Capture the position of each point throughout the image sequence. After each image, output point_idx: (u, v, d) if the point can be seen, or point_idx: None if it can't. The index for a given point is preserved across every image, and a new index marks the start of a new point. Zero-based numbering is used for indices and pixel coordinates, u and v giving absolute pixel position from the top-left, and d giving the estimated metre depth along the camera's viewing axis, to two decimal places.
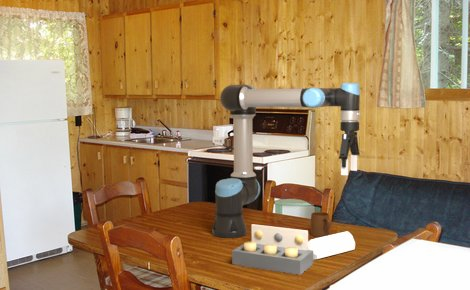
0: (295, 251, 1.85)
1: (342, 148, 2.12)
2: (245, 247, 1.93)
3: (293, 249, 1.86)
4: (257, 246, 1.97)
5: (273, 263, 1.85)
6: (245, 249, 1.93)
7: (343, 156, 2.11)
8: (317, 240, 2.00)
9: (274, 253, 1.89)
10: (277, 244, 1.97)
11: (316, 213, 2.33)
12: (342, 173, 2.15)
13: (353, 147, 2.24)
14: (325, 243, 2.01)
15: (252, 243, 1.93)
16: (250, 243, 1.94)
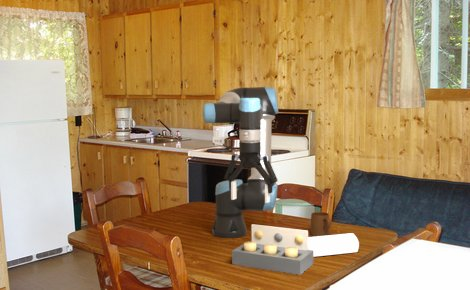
0: (295, 251, 1.85)
1: None
2: (245, 247, 1.93)
3: (293, 249, 1.86)
4: (257, 246, 1.97)
5: (273, 263, 1.85)
6: (245, 249, 1.93)
7: None
8: (312, 239, 2.02)
9: (274, 253, 1.89)
10: (277, 244, 1.97)
11: (316, 213, 2.33)
12: None
13: None
14: (321, 243, 2.02)
15: (252, 243, 1.93)
16: (250, 243, 1.94)
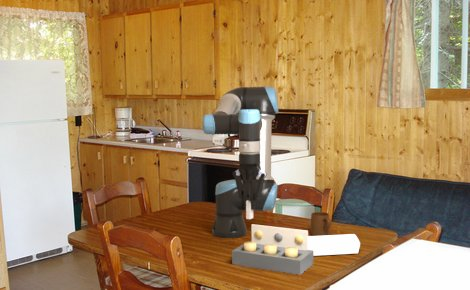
0: (295, 251, 1.85)
1: None
2: (245, 247, 1.93)
3: (293, 249, 1.86)
4: (257, 246, 1.97)
5: (273, 263, 1.85)
6: (245, 249, 1.93)
7: None
8: (311, 238, 2.03)
9: (274, 253, 1.89)
10: (277, 244, 1.97)
11: (316, 213, 2.33)
12: None
13: None
14: (320, 242, 2.02)
15: (252, 243, 1.93)
16: (250, 243, 1.94)
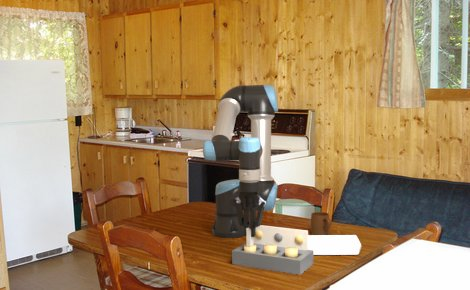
0: (295, 251, 1.85)
1: None
2: (245, 250, 1.93)
3: (293, 249, 1.86)
4: (257, 246, 1.97)
5: (273, 263, 1.85)
6: None
7: None
8: (310, 237, 2.04)
9: (274, 253, 1.89)
10: (277, 244, 1.97)
11: (316, 213, 2.33)
12: None
13: None
14: (319, 242, 2.03)
15: (252, 246, 1.93)
16: (250, 246, 1.94)
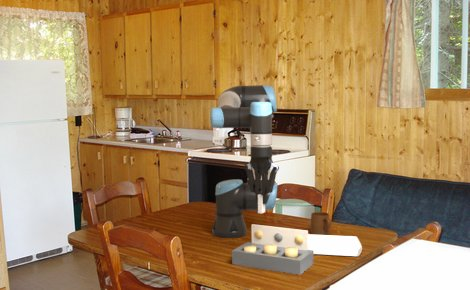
0: (295, 251, 1.85)
1: None
2: None
3: (293, 249, 1.86)
4: (257, 246, 1.97)
5: (273, 263, 1.85)
6: None
7: None
8: (310, 236, 2.05)
9: (274, 253, 1.89)
10: (277, 244, 1.97)
11: (316, 213, 2.33)
12: None
13: None
14: (317, 241, 2.04)
15: (252, 247, 1.93)
16: (250, 247, 1.94)
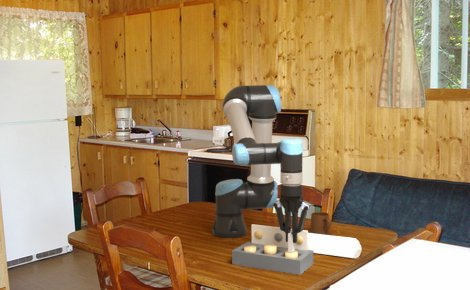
0: (295, 254, 1.85)
1: None
2: None
3: (293, 252, 1.86)
4: (257, 246, 1.97)
5: (273, 263, 1.85)
6: None
7: None
8: (310, 235, 2.07)
9: (274, 253, 1.89)
10: (277, 244, 1.97)
11: (316, 213, 2.33)
12: None
13: None
14: (317, 240, 2.05)
15: (252, 247, 1.93)
16: (250, 247, 1.94)
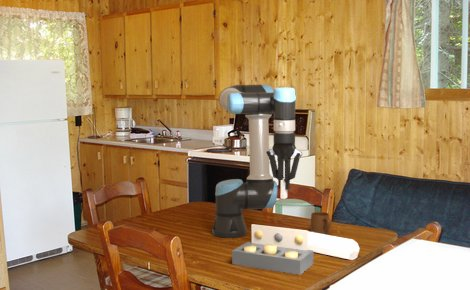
0: (295, 255, 1.85)
1: None
2: None
3: (293, 253, 1.86)
4: (257, 246, 1.97)
5: (273, 263, 1.85)
6: None
7: None
8: (311, 234, 2.09)
9: (274, 253, 1.89)
10: (277, 244, 1.97)
11: (316, 213, 2.33)
12: None
13: None
14: (317, 239, 2.06)
15: (252, 247, 1.93)
16: (250, 247, 1.94)
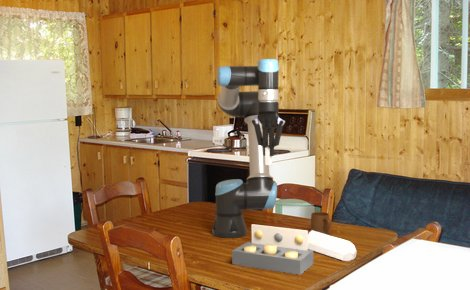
0: (295, 255, 1.85)
1: None
2: None
3: (293, 253, 1.86)
4: (257, 246, 1.97)
5: (273, 263, 1.85)
6: None
7: None
8: (314, 233, 2.10)
9: (274, 253, 1.89)
10: (277, 244, 1.97)
11: (316, 213, 2.33)
12: None
13: None
14: (317, 239, 2.07)
15: (252, 247, 1.93)
16: (250, 247, 1.94)
